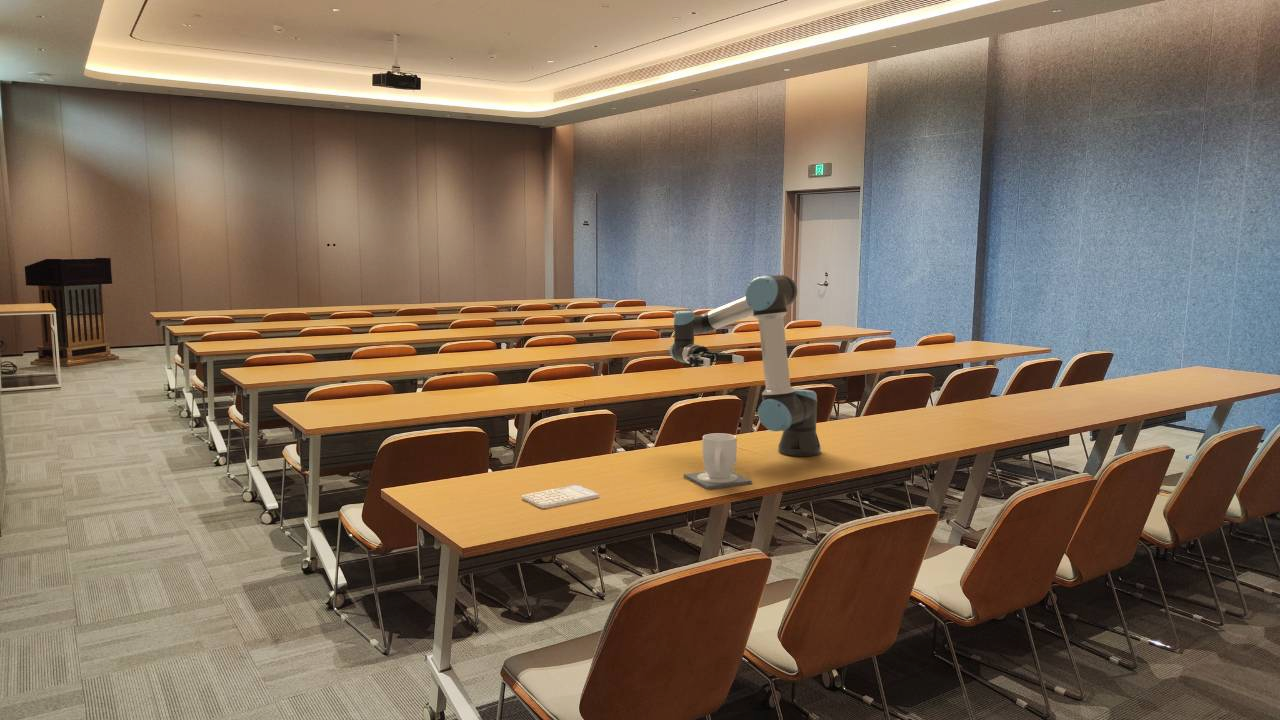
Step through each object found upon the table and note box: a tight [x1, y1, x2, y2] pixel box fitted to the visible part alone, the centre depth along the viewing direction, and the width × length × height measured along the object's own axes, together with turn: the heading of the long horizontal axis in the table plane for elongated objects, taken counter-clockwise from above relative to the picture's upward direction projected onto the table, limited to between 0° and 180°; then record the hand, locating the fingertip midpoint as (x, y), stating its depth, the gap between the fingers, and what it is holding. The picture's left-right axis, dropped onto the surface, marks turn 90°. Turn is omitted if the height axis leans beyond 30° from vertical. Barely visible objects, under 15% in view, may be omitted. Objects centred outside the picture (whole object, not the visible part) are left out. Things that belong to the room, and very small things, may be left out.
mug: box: [701, 432, 738, 479], centre depth 274 cm, size 15×11×13 cm
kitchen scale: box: [683, 470, 753, 490], centre depth 277 cm, size 16×16×1 cm
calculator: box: [521, 484, 600, 509], centre depth 258 cm, size 13×20×2 cm, turn 126°
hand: (726, 361), depth 299 cm, fingers open, 13 cm apart
